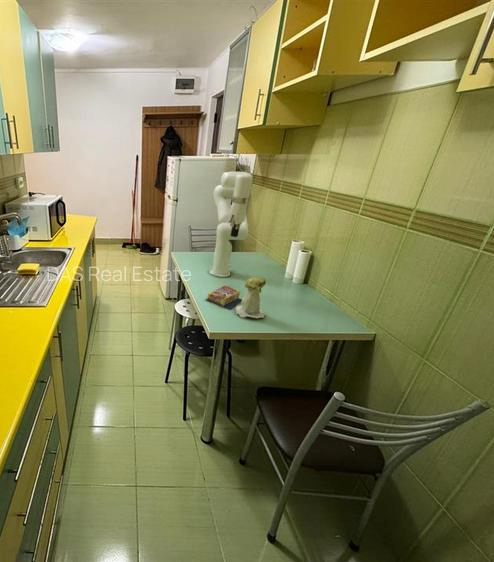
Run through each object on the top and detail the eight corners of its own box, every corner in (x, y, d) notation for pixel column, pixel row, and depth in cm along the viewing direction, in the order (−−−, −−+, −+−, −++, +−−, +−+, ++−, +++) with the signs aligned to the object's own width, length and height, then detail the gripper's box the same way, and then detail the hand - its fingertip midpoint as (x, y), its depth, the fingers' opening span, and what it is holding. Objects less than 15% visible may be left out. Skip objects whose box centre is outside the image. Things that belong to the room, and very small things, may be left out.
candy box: (240, 290, 155) (223, 299, 146) (239, 298, 156) (222, 307, 148) (225, 284, 161) (208, 292, 152) (224, 291, 163) (206, 300, 154)
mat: (219, 292, 163) (219, 291, 163) (242, 300, 155) (243, 299, 155) (206, 300, 154) (206, 299, 154) (230, 309, 146) (230, 308, 146)
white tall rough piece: (268, 321, 136) (278, 284, 129) (239, 319, 137) (247, 282, 129) (259, 308, 147) (267, 273, 140) (232, 307, 148) (239, 272, 140)
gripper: (239, 198, 158) (233, 232, 165) (226, 201, 148) (220, 237, 156) (254, 200, 153) (247, 235, 161) (240, 203, 144) (234, 240, 151)
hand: (234, 236), depth 158 cm, fingers closed
